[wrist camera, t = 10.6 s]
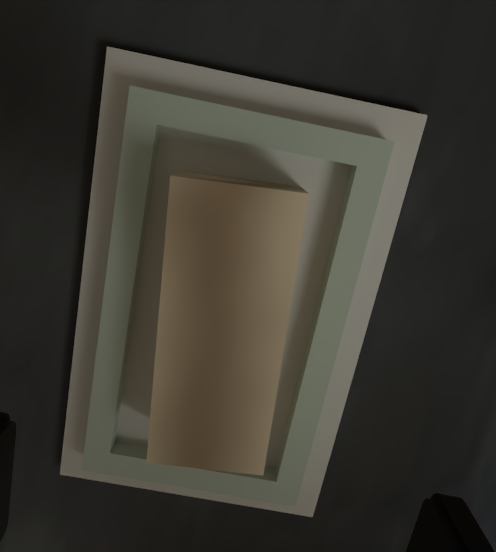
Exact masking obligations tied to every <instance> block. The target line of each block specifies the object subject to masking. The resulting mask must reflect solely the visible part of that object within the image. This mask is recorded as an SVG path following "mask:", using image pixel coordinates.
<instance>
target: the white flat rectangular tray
mask: <svg viewBox="0 0 496 552" xmlns="http://www.w3.org/2000/svg"><path fill="white" fill-rule="evenodd" d="M427 116H428V115H424V114H419V113H415V112H410V111H405V110H401V109H396V108H391V107H387V106H382V105H377V104H373V103H368V102H363V101H359V100H354V99H350V98H345V97H340V96H336V95H331V94H326V93H322V92H317V91H312V90H308V89H303V88H298V87H294V86H289V85H284V84H280V83H275V82H270V81H266V80H261V79H256V78H252V77H247V76H243V75H238V74H233V73H229V72H224V71H219V70H215V69H210V68H205V67H201V66H196V65H191V64H187V63H182V62H177V61H173V60H168V59H163V58H159V57H154V56H149V55H145V54H140V53H136V52H131V51H126V50H122V49H117V48H112V47H108V46H107V51H106V61H105V70H104V79H103V88H102V97H101V106H100V115H99V124H98V133H97V142H96V151H95V160H94V169H93V178H92V187H91V196H90V205H89V214H88V223H87V232H86V242H85V251H84V260H83V269H82V278H81V287H80V296H79V305H78V314H77V323H76V332H75V341H74V350H73V359H72V368H71V377H70V386H69V395H68V404H67V413H66V423H65V432H64V441H63V450H62V459H61V468H60V475H66V476H71V477H77V478H83V479H89V480H95V481H101V482H107V483H113V484H119V485H125V486H131V487H137V488H143V489H148V490H154V491H160V492H166V493H172V494H178V495H184V496H190V497H196V498H202V499H208V500H214V501H220V502H225V503H231V504H237V505H243V506H249V507H255V508H261V509H267V510H273V511H279V512H285V513H291V514H296V515H302V516H308V517H313V514H314V511H315V507H316V504H317V500H318V497H319V493H320V490H321V486H322V483H323V479H324V476H325V472H326V469H327V465H328V462H329V458H330V455H331V451H332V448H333V444H334V441H335V437H336V434H337V430H338V427H339V423H340V420H341V416H342V413H343V409H344V406H345V402H346V399H347V395H348V392H349V388H350V385H351V381H352V378H353V374H354V371H355V367H356V364H357V360H358V357H359V353H360V350H361V346H362V343H363V339H364V336H365V333H366V329H367V326H368V322H369V319H370V315H371V312H372V308H373V305H374V301H375V298H376V294H377V291H378V287H379V284H380V280H381V277H382V273H383V270H384V266H385V263H386V259H387V256H388V252H389V249H390V245H391V242H392V238H393V235H394V231H395V228H396V224H397V221H398V217H399V214H400V210H401V207H402V203H403V200H404V196H405V193H406V189H407V186H408V182H409V179H410V175H411V172H412V168H413V165H414V161H415V158H416V154H417V151H418V147H419V144H420V140H421V137H422V133H423V130H424V126H425V123H426V119H427ZM180 171H187V172H194V173H202V174H210V175H217V176H225V177H232V178H240V179H248V180H255V181H263V182H270V183H278V184H286V185H293V186H300V187H302V188H303V189H304V190H305V191H306V192H308V193H309V197H308V203H307V209H306V216H305V222H304V228H303V234H302V240H301V246H300V253H299V259H298V265H297V271H296V277H295V284H294V290H293V296H292V302H291V308H290V314H289V321H288V327H287V333H286V339H285V345H284V352H283V358H282V364H281V370H280V376H279V382H278V389H277V395H276V401H275V407H274V413H273V420H272V426H271V432H270V438H269V444H268V450H267V457H266V463H265V469H264V475H263V476H262V475H253V474H244V473H235V472H226V471H217V470H209V469H200V468H191V467H182V466H173V465H164V464H155V463H146V460H147V448H148V436H149V424H150V412H151V400H152V388H153V376H154V364H155V352H156V340H157V328H158V316H159V304H160V292H161V280H162V268H163V256H164V244H165V232H166V220H167V208H168V196H169V185H170V175H173V174H175V173H178V172H180Z"/></svg>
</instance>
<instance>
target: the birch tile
mask: <svg viewBox="0 0 496 552" xmlns="http://www.w3.org/2000/svg"><path fill="white" fill-rule="evenodd" d="M308 197H309V193H308V192H306V191H305V190H304V189H303V188H302V187H300V186H293V185H286V184H278V183H270V182H263V181H255V180H248V179H240V178H232V177H225V176H217V175H210V174H202V173H194V172H187V171H180V172H178V173H175V174H173V175H170V185H169V196H168V208H167V220H166V232H165V244H164V256H163V268H162V280H161V292H160V304H159V316H158V328H157V340H156V352H155V364H154V376H153V388H152V400H151V412H150V424H149V436H148V448H147V460H146V463H155V464H164V465H173V466H182V467H191V468H200V469H209V470H217V471H226V472H235V473H244V474H253V475H262V476H263V475H264V469H265V463H266V457H267V450H268V444H269V438H270V432H271V426H272V420H273V413H274V407H275V401H276V395H277V389H278V382H279V376H280V370H281V364H282V358H283V352H284V345H285V339H286V333H287V327H288V321H289V314H290V308H291V302H292V296H293V290H294V284H295V277H296V271H297V265H298V259H299V253H300V246H301V240H302V234H303V228H304V222H305V216H306V209H307V203H308Z"/></svg>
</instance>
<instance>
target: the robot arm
mask: <svg viewBox="0 0 496 552" xmlns="http://www.w3.org/2000/svg"><path fill="white" fill-rule="evenodd" d="M15 437H16V423H15V422H13V421H10V417H9V415H8V414H7V413H3V412H0V541H1V539H2V537H3V535H4V533H5V530H6V528H7V524H8V517H9V505H10V494H11V482H12V471H13V459H14V448H15ZM406 552H494V550H493V549H492V547H491V545H490V543H489V542H488V540H487V538H486V537H485V535H484V533H483V532H482V530H481V528H480V527H479V525H478V523H477V522H476V520H475V518H474V517H473V515H472V513H471V512H470V510H469V508H468V507H467V505H466V503H465V502H464V501H463V499H461V498H459V497H454V496H448V495H443V494H438V493H436V494H434V495H433V496H432V497H431V499H425V500H424V502H423V504H422V507H421V510H420V513H419V516H418V518H417V521H416V524H415V527H414V530H413V533H412V536H411V539H410V542H409V544H408V547H407V550H406Z"/></svg>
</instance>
